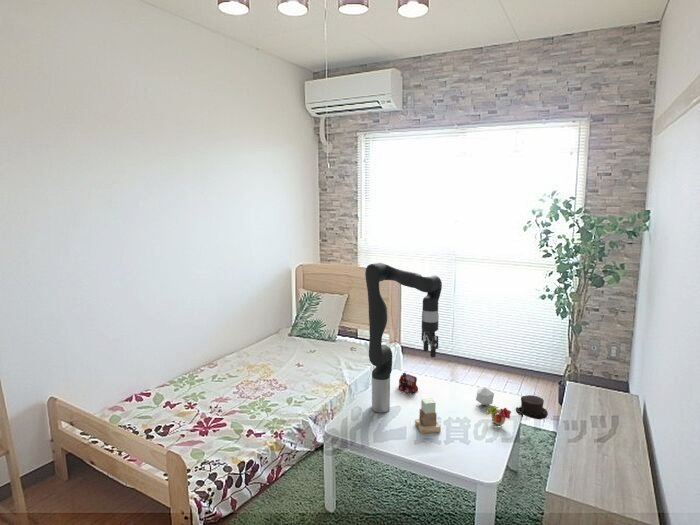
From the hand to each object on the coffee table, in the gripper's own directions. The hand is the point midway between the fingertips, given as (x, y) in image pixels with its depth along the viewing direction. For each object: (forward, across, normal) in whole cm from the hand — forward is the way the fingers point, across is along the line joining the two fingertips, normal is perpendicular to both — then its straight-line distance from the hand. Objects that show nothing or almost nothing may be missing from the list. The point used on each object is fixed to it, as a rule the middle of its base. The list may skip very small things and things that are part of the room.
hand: (429, 354), depth 209 cm
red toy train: (+36, +42, -5) cm, 56 cm away
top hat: (+37, +4, -58) cm, 68 cm away
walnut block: (+34, 0, 0) cm, 34 cm away
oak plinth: (+36, 0, 0) cm, 36 cm away
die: (+36, +16, -38) cm, 55 cm away
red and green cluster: (+36, -4, -35) cm, 50 cm away
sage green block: (+28, 0, 0) cm, 28 cm away
